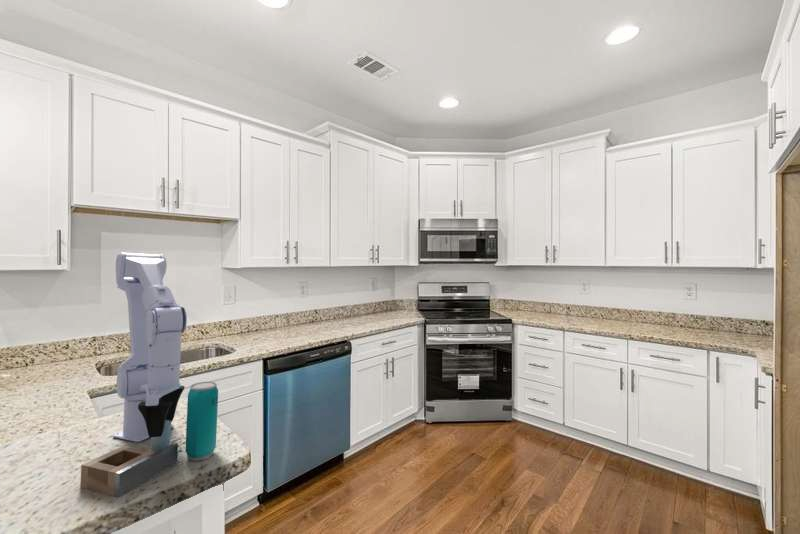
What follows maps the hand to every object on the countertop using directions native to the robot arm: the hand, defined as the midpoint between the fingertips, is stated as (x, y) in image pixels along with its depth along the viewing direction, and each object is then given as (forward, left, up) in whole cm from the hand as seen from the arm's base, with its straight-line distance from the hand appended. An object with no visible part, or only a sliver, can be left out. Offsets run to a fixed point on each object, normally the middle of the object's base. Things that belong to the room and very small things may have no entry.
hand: (161, 428), depth 78 cm
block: (+9, 0, -6) cm, 11 cm away
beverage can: (-3, +7, -6) cm, 10 cm away
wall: (+7, +5, -6) cm, 10 cm away
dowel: (0, 0, -6) cm, 6 cm away
